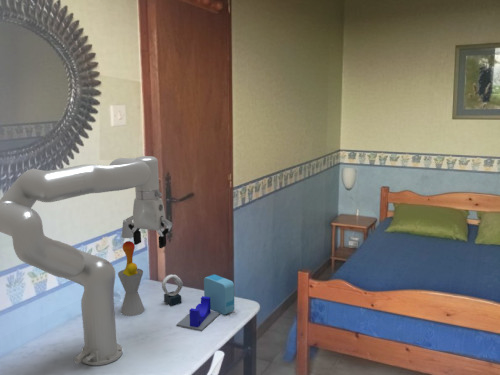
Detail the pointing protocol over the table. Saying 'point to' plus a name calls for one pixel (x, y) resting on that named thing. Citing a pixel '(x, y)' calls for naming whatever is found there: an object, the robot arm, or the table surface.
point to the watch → (173, 297)
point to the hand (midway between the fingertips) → (149, 245)
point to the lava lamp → (130, 277)
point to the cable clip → (200, 312)
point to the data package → (219, 293)
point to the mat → (186, 324)
